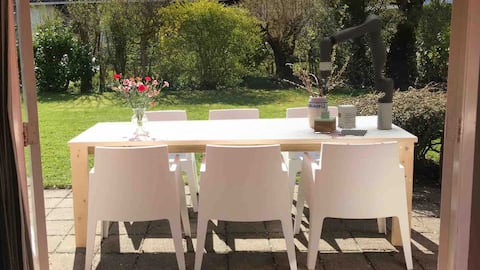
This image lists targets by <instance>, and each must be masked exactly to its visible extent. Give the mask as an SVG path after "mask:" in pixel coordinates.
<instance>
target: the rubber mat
mask: <svg viewBox="0 0 480 270" xmlns="http://www.w3.org/2000/svg"><path fill="white" fill-rule="evenodd" d="M340 132H341V134H342V135H341V136H345V135H363V136H362V137H365V136H366V134H367V132H368V130H367V129H344V128H341V130H340ZM364 135H365V136H364Z"/></svg>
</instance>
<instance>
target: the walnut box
mask: <svg viewBox="0 0 480 270" xmlns="http://www.w3.org/2000/svg"><path fill="white" fill-rule="evenodd" d="M313 126H314V127H313V128H314V129H313V130H314V132H330V133H333V132H334V131H335V130H336V131H337V118H336V119H335V120H334V121H314V124H313ZM336 131H335V132H336ZM335 132H334V133H335ZM334 133H333V134H334Z"/></svg>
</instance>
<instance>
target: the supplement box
mask: <svg viewBox="0 0 480 270" xmlns="http://www.w3.org/2000/svg"><path fill="white" fill-rule="evenodd" d="M356 111H357V106H356V105H352V104H338V106H337V127H338V126H339V128H341V127H342V128H341V129H344V128H345V129H355V128H356V127H357V126H356V118H357V117H356V116H357V115H356Z"/></svg>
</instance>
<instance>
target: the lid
mask: <svg viewBox="0 0 480 270" xmlns="http://www.w3.org/2000/svg"><path fill="white" fill-rule="evenodd" d="M335 119H336V120H337V117H336V116H330V110H321V112H320V116H317V117H315V118H314V121H334V120H335Z"/></svg>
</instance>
